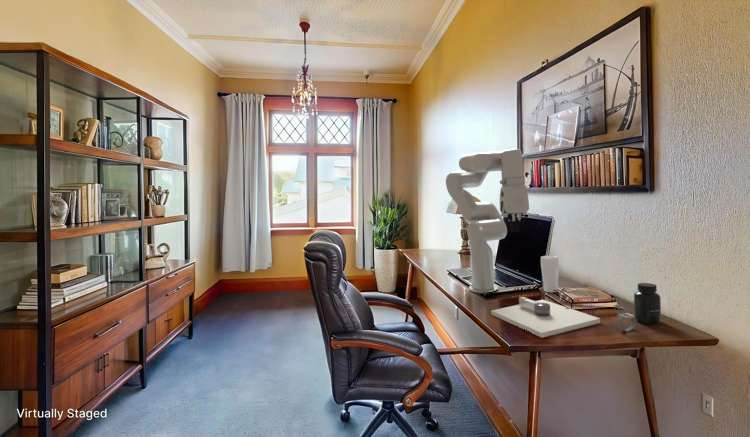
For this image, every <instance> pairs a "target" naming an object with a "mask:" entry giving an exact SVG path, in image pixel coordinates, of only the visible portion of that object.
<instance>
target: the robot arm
mask: <svg viewBox="0 0 750 437" xmlns="http://www.w3.org/2000/svg"><path fill="white" fill-rule="evenodd" d="M458 166H459V168H460V170H456V171H452V172H450V173H449V174H448V175H446V178H445V187H446V190H447V193H448V194H449V196H450V197H451V198H452V200H453V202H455V204H456V206H457V208H458V211H459V212H460V214H461V217H462V219H463V220H464V222H466V223H467V224H468V225H467V227H466V233H467V237H468V242H469V248H470V250H469V251H470V263H471V264H470V265H471V278H470V279H469V280H468V281H469V283H471V285H469V287H468V290H469V291H470V292H472V293H475V294H484V293H483V292H489V291H494V290H497V289H498V290H499V287H498V285H495V274H494V257H493V254H494V253H493V249H492V248H491V246H490V245H489V244H488V242H491V241H499V240H502V239H503V240H504V239H505V238H506V236H507V234H508V228H507V225H506V222H505V221H504V218H506V219H507V221H508V222H509V229H510V232H514V233H517V232H520V231H521V229H520V221H521V219H522V218H523V216H525V215H527V214H528V211H529V210H530V202H529V194H528V190H527V187H526V185H524V168H523V166H524V162H523V152H522V150H521V149H520V148H510V149H504V150H502V151H487V152H483V151H481V152H473V153H466V154H464V155H462V156H461V157H460V159H459V162H458ZM489 172H501V180H500V181H499V184H500V185H501V186H500V194H499V210H498V208H497V207H496V205H495V204H493V203H492V202H490V201H483V202H478V201H476V199H475V198H474V196H473V195H472V194H471V193H470V192H469V191H468V190H466V189H469V188H471V189H472V188H478V187H480V186H481V185H482V184H483V182H484V181H485V179H486V177H487V176H488V173H489ZM499 211H500V212H499ZM500 213H501V214H500ZM503 217H504V218H503Z"/></svg>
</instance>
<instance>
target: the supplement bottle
mask: <svg viewBox="0 0 750 437" xmlns="http://www.w3.org/2000/svg"><path fill="white" fill-rule="evenodd" d="M657 292H658V290H657V284H655V283H649V282H639V283H637V291H635V292H634V294H633V315H635V318H636V323H640V324H643V325H644V324H646V325H650V326H651V325H652V326H653V325H660V323H661V321H662V320H661V318H662V314H661V311H662V310H661V308H662V306H661V305H662V301H661V300H662V299H661V295H660V294H659V293H657Z"/></svg>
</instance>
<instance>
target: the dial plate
mask: <svg viewBox="0 0 750 437" xmlns="http://www.w3.org/2000/svg"><path fill="white" fill-rule="evenodd" d="M535 301H536V302H539V303H547V304H549V305H550V315H548V316H540V315H536V314H535V313H534V311H531V310H528V309H526V308H523V307H520V306H519V303H518V304H515V305H511V306H507V307H501V308H497V309H493V310H491V311H490V312H491V315H492V316H494V317H496V318H498V319H500V320H502V321H505V322H507V323H509V324H511V325H513V326H516V327H517V326H518V327H517V328H520V329H522V330H524V329H525V331H526V330H527V331H526V332H528V331H529V333H530V332H531V333H530V334H533V335H535V336H537V337H539V338H542V339H543V338H546V337H549V336H551V337H552V336H554V335H559V334H563V333H566V332H570V331H574V330H578V329H582V328H586V327H589V326H594V325H597V324H601V318H600V317H597V316H594V315H591V314H589V313H585V312H583V311H578V310H576V309H573V308H570V307H567V306H564V305H560V304H558V303H554V302H551V301H549V300H545V299H540V300H535Z"/></svg>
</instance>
